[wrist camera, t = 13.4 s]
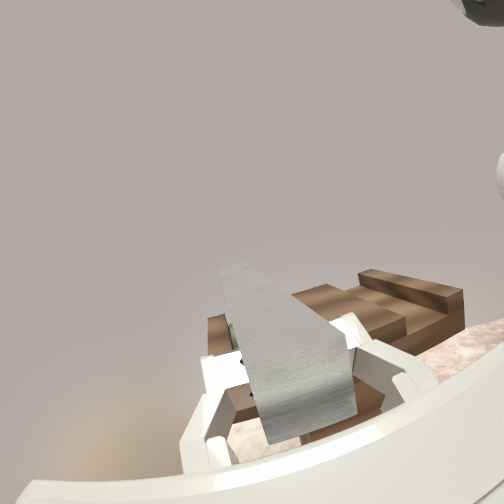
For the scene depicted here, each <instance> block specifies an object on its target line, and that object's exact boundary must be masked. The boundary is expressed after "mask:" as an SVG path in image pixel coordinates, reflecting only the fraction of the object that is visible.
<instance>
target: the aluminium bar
mask: <svg viewBox="0 0 504 504" xmlns="http://www.w3.org/2000/svg"><path fill="white" fill-rule="evenodd" d="M218 272H219V276H220V280H221V284H222V287H223V291H224V295H225V299H226V303H227V307H228V310H229V314H230V318H231V321H232V325H233V329H234V332H235V336H236V340H237V343H238V347H239V350H240V354H241V357H242V361H243V364H244V368H245V371H246V374H247V378H248V381H249V384H250V387H251V391H252V394H253V397H254V400H255V404H256V407H257V410H258V413H259V416H260V419H261V423H262V426H263V429H264V432H265V435H266V438H267V441H268V444H269V445H272V444H275V443H278V442H282V441H285V440H288V439H291V438H295V437H298V436H301V435H304V434H307V433H310V432H312V431H315V430H318V429H321V428H324V427H326V426H329V425H332V424H334V423H337V422H339V421H342V420H344V419H347V418H349V417H352V416H354V415H357V406H356V398H355V391H354V384H353V377H352V370H351V363H350V357H349V351H348V345H347V339H346V334H345V333H344V332H342V331H341V330H340V329H338V328H337V327H335V326H334V325H333V324H331V323H330V322H328V321H327V320H326V319H324V318H323V317H321V316H320V315H319V314H317V313H316V312H314V311H313V310H312V309H310V308H309V307H307V306H306V305H305V304H303V303H302V302H300V301H299V300H298V299H296V298H295V297H293V296H292V295H291V294H289V293H288V292H286V291H285V290H284V289H282V288H281V287H279V286H278V285H277V284H275V283H274V282H272V281H271V280H270V279H268V278H267V277H265V276H264V275H263V274H261V273H260V272H259V271H257V270H256V269H254V268H253V267H252V266H250V265H249V264H248V263H246V262H245V261H244V262H240V263H236V264H232V265H229V266H225V267H221V268H218Z"/></svg>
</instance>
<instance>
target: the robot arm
mask: <svg viewBox="0 0 504 504" xmlns="http://www.w3.org/2000/svg"><path fill="white" fill-rule="evenodd" d="M451 1H452V3H453V4H454V5H455V6H456V7H457V8H459V9H460V10H461V11H462V12H463V13H464V15H465V16H466V17H467V18H468V19H470V20H472V21H473V22H475V23H476V24H478V25H481V26H491V27H492V26H493V27H495V26H496V27H500V29H501V32H502V35H503V38H504V0H451ZM496 179H497V186H498V190H499V193H500V195H501V197H502V199H503V201H504V153H502V155H501V156H500V159H499V161H498V165H497V170H496ZM327 321H328V322H330V323H331V324H333V325H334V326H335V327H337V328H338V329H340V330H341V331H342V332H344V333H345V334H346V339H347V345H348V351H349V357H350V363H351V370H352V373H353V374H352V375H354V376H356V377H357V378H359V379H360V380H362V381H364V382H365V383H367V384H368V385H370V386H372V387H373V388H375V389H376V390H378V391H380V392H381V393H383V394H385V395H386V396H385V399H384V401H383V404H382V406H381V408H380V409H381V411H382V414H380V415H378V416H376V417H374V418H372V419H369V420H367V421H365V422H363V423H360V424H358V425H356V426H353V427H351V428H348V429H346V430H343V431H341V432H338V433H336V434H333V435H331V436H328V437H325V438H322V439H320V440H317V441H314V442H311V443H308V444H305V445H302V446H299V447H296V448H293V449H290V450H287V451H284V452H280V453H277V454H273V455H270V456H266V457H263V458H259V459H255V460H251V461H247V462H243V463H239V460H238V458H237V456H236V455H235V453H234V452H233V450H232V449H231V447H230V446H229V444H228V443H227V438H228V435H229V432H230V429H231V426H232V423H233V420H234V417H235V414H236V411H239V410H243V409H246V408H250V407H253V406H256V404H255V400H254V397H253V394H252V391H251V387H250V384H249V381H248V378H247V374H246V371H245V368H244V364H243V361H242V357H241V354H240V350H239V348H238V349H234V350H230V351H226V352H222V353H217V354H213V355H209V356H205V357H201V367H202V373H203V378H204V383H205V389H206V394H203V395H202V397H201V399H200V401H199V403H198V405H197V407H196V410H195V411H194V414H193V416H192V418H191V420H190V422H189V424H188V426H187V428H186V430H185V432H184V434H183V436H182V438H181V440H180V442H179V445H180V452H181V459H182V465H183V471H184V474H182V475H175V476H167V477H159V478H149V479H138V480H123V481H94V482H84V481H52V480H41V479H38V480H33V481H31V482H30V483H29V484H28V485H27V487H26V488H25V489H24V491H23V492H22V493H21V495H20V497H19V498H18V499H17V501H16V503H15V504H504V341H502V342H501V343H500V344H498V345H497V346H496V347H494V348H493V349H491V350H490V351H489V352H487V353H486V354H484V355H483V356H482V357H480V358H479V359H477V360H476V361H474V362H473V363H471V364H470V365H468V366H467V367H465V368H464V369H462V370H460V371H459V372H457V373H456V374H454V375H453V376H451V377H449V378H448V379H446V380H444V381H443V382H441V383H439V381H438V380H437V378H436V377H435V376H434V374H433V373H432V371H431V370H430V369H429V367H428V366H427V364H426V363H425V362H424V360H422V359H419V358H417V357H415V356H413V355H410V354H408V353H406V352H404V351H401V350H399V349H397V348H395V347H392V346H390V345H388V344H386V343H383V342H381V341H379V340H377V339H375V340H372V339H371V337H370V336H369V334H368V333H367V331H366V330H365V328H364V327H363V325H362V324H361V323H360V321H359V320H358V318H357V317H356V315H355V314H354V313H353V312H350V313H348V314H345V315H342V316H338V317H336V318H333V319H330V320H327Z"/></svg>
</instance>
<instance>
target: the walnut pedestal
mask: <svg viewBox="0 0 504 504" xmlns="http://www.w3.org/2000/svg"><path fill="white" fill-rule="evenodd" d="M358 277H359V282H360V286H357V287H354V288H351V289H348V290H345V291H342V290H340V289H338V288H335V287H333V286H330V285H328V284H324V285H321V286H318V287H314V288H311V289H308V290H305V291H301V292H298V293H295V294H291V295H292V296H293V297H295V298H296V299H298V300H299V301H300V302H302V303H303V304H305V305H306V306H307V307H309V308H310V309H312V310H313V311H314V312H316V313H317V314H319V315H320V316H321V317H323V318H324V319H326V320H330V319H333V318H336V317H338V316H342V315H345V314H348V313H350V312H353V313H354V314H355V315H356V317H357V318H358V320H359V321H360V323H361V324H362V325H363V327H364V328H365V330H366V331H367V333H368V334H369V336H370V337H371V339H372V340H375V339H377V340H379V341H381V342H383V343H386V344H388V345H390V346H392V347H395V348H397V349H399V350H401V351H404V352H406V353H408V354H410V355H413V356H417V355H419V354H421V353H423V352H425V351H426V350H428V349H430V348H432V347H434V346H436V345H438V344H439V343H441V342H443V341H445V340H447V339H448V338H450V337H452V336H454V335H455V334H457V333H459V332H461V331H462V330H464V329H465V318H464V300H463V289H460V288H455V287H451V286H446V285H442V284H437V283H433V282H428V281H424V280H419V279H414V278H410V277H406V276H401V275H396V274H391V273H387V272H382V271H378V270H373V269H370V270H367V271H364V272H361V273H358ZM238 348H239V347H238V343H237V340H236V336H235V332H234V329H233V325H232V324H229V326H228V324H227V321H226V317H225V314H222V315H218V316H214V317H211V318H208V356H209V355H213V354H217V353H222V352H226V351H230V350H234V349H238ZM352 374H353V373H352ZM352 377H353V384H354V391H355V398H356V406H357V415H354V416H352V417H349V418H347V419H344V420H342V421H339V422H337V423H334V424H332V425H329V426H326V427H324V428H321V429H318V430H315V431H312V432H310V433H307V434H304V435H301V436H299V437H300V441H301V445H305V444H308V443H311V442H314V441H317V440H320V439H322V438H325V437H328V436H331V435H333V434H336V433H338V432H341V431H343V430H346V429H348V428H351V427H353V426H356V425H358V424H360V423H363V422H365V421H367V420H369V419H372V418H374V417H376V416H378V415H380V414H382V411H381V409H380V408H381V406H382V404H383V401H384V399H385V396H386V395H385V394H383V393H381V392H380V391H378V390H376V389H375V388H373V387H372V386H370V385H368V384H367V383H365V382H364V381H362V380H360V379H359V378H357V377H356V376H354V375H352ZM257 417H260V416H259V413H258V410H257V407H256V406H253V407H250V408H246V409H243V410H239V411H236V414H235V417H234V420H233V423H232V424H235V423H239V422H243V421H247V420H250V419H254V418H257Z"/></svg>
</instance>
